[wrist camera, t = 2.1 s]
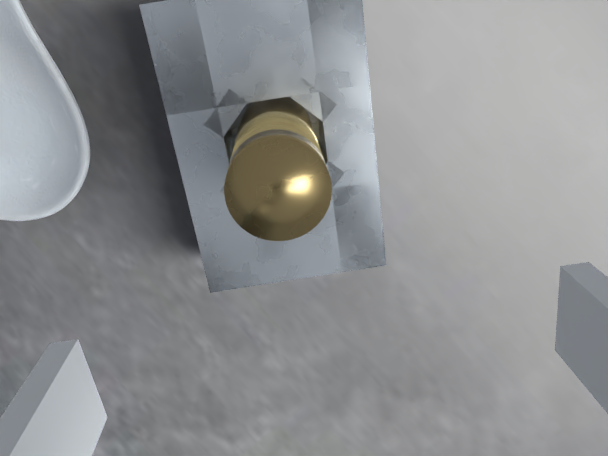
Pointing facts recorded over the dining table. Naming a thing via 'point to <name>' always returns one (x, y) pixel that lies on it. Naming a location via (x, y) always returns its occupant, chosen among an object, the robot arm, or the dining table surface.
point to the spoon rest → (36, 125)
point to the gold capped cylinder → (277, 172)
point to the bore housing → (263, 86)
